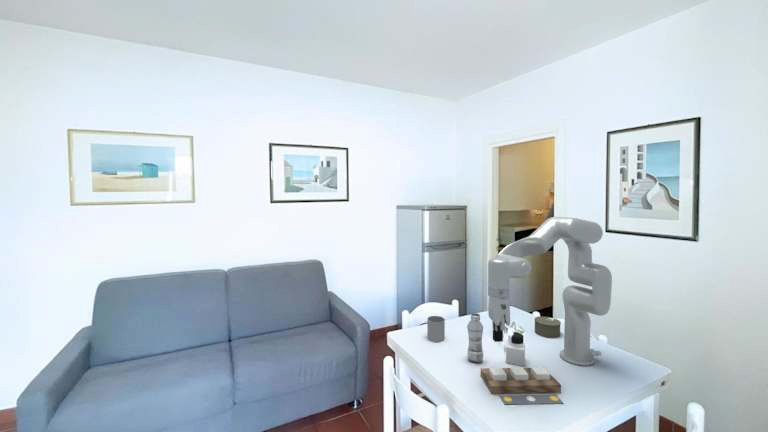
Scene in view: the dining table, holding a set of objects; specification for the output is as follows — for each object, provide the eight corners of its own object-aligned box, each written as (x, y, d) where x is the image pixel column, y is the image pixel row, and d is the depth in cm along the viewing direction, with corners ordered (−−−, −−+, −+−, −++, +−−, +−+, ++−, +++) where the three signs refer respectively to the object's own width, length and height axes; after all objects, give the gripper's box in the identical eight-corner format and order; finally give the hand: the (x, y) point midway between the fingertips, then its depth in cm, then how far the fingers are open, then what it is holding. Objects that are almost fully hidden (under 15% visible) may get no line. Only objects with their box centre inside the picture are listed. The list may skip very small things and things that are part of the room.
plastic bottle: (484, 364, 134) (484, 318, 133) (467, 363, 135) (467, 316, 134) (482, 357, 140) (482, 312, 139) (466, 356, 141) (466, 311, 140)
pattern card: (555, 395, 113) (555, 393, 113) (563, 403, 108) (563, 402, 108) (499, 396, 112) (499, 394, 112) (504, 404, 108) (504, 403, 108)
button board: (543, 374, 126) (543, 367, 126) (561, 393, 114) (561, 385, 114) (480, 375, 125) (480, 368, 125) (491, 394, 113) (491, 386, 113)
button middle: (522, 375, 122) (522, 367, 122) (528, 382, 117) (528, 374, 117) (509, 375, 122) (510, 367, 122) (515, 382, 117) (515, 374, 117)
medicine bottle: (524, 358, 138) (525, 331, 138) (524, 366, 132) (524, 338, 131) (507, 355, 141) (507, 329, 141) (505, 363, 135) (506, 335, 134)
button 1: (501, 375, 122) (501, 367, 122) (506, 382, 117) (506, 374, 117) (489, 375, 122) (489, 368, 122) (493, 383, 117) (493, 375, 117)
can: (529, 332, 165) (529, 319, 165) (541, 327, 172) (541, 314, 172) (553, 341, 156) (553, 327, 155) (564, 334, 163) (565, 321, 162)
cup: (447, 337, 160) (447, 318, 160) (440, 343, 153) (440, 323, 153) (431, 333, 165) (431, 314, 164) (424, 339, 158) (424, 320, 157)
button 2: (543, 374, 122) (543, 367, 122) (549, 382, 117) (550, 374, 117) (530, 375, 122) (530, 367, 122) (536, 382, 117) (537, 374, 117)
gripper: (517, 298, 110) (516, 350, 111) (500, 286, 125) (500, 332, 126) (495, 298, 110) (494, 350, 111) (481, 286, 125) (481, 332, 126)
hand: (497, 340), depth 119 cm, fingers closed
